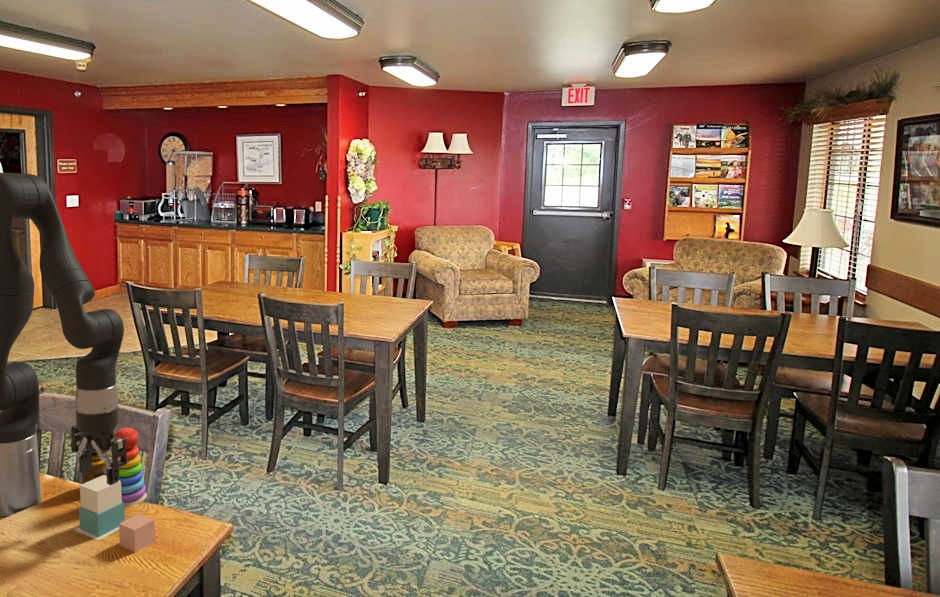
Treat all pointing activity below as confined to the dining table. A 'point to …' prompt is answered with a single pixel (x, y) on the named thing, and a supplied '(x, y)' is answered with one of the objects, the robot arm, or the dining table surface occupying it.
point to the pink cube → (137, 532)
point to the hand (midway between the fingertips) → (99, 477)
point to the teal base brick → (101, 520)
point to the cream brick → (100, 495)
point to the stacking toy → (131, 470)
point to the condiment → (95, 468)
